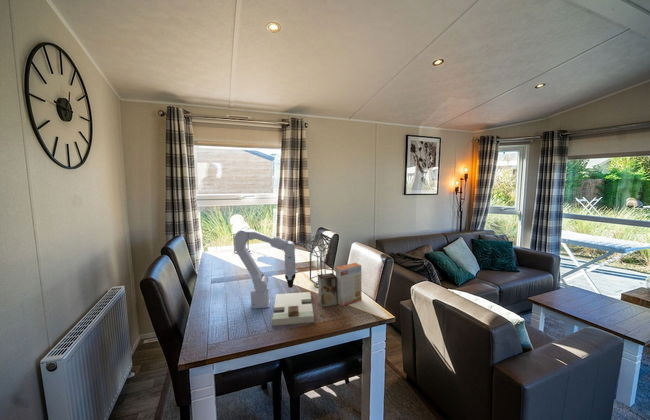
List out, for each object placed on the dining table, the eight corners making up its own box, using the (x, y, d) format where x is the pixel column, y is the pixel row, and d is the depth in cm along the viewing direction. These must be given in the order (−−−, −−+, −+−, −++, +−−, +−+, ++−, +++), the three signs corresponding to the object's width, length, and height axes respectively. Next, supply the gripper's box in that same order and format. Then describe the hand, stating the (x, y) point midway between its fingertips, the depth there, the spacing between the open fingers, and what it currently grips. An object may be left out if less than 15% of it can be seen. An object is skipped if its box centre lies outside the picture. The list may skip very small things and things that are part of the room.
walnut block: (288, 318, 118) (288, 311, 117) (288, 313, 123) (288, 306, 122) (298, 317, 119) (298, 310, 118) (298, 312, 123) (298, 305, 123)
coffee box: (333, 299, 140) (333, 272, 138) (337, 304, 134) (337, 276, 132) (318, 301, 138) (317, 274, 136) (321, 307, 132) (320, 278, 130)
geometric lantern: (320, 293, 147) (317, 237, 143) (305, 285, 159) (302, 233, 155) (339, 286, 157) (337, 232, 153) (324, 279, 169) (322, 229, 165)
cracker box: (355, 296, 144) (355, 262, 141) (361, 300, 138) (362, 265, 136) (335, 302, 137) (335, 266, 134) (341, 307, 132) (341, 270, 129)
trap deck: (272, 325, 116) (271, 319, 115) (276, 297, 143) (275, 292, 143) (314, 322, 118) (314, 315, 118) (310, 295, 146) (310, 290, 145)
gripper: (297, 267, 127) (297, 292, 129) (297, 258, 141) (297, 281, 143) (283, 268, 126) (284, 293, 128) (285, 259, 141) (285, 281, 142)
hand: (290, 287), depth 136 cm, fingers closed
